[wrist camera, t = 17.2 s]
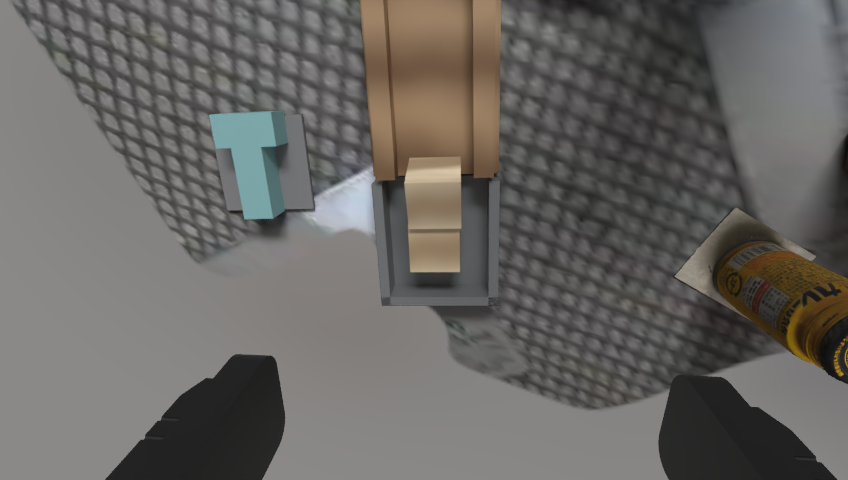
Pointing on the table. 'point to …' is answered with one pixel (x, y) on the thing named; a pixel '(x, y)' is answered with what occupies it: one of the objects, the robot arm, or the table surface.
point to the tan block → (434, 250)
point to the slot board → (433, 82)
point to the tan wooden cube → (433, 193)
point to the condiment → (775, 289)
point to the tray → (476, 248)
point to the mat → (289, 165)
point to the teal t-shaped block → (254, 158)
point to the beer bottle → (846, 161)
